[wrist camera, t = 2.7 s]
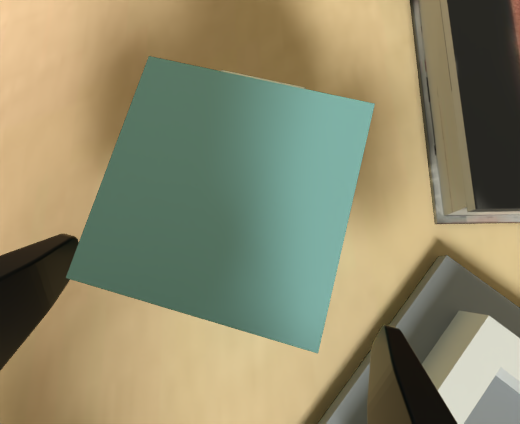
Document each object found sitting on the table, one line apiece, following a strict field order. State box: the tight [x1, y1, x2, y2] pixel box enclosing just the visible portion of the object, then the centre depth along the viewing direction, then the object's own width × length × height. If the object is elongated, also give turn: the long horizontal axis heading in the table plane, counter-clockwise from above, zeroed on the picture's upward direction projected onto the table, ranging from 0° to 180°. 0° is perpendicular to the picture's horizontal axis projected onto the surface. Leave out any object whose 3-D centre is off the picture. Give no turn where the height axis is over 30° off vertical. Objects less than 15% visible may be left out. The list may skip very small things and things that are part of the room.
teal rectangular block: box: [66, 56, 375, 353], centre depth 13 cm, size 5×5×13 cm
